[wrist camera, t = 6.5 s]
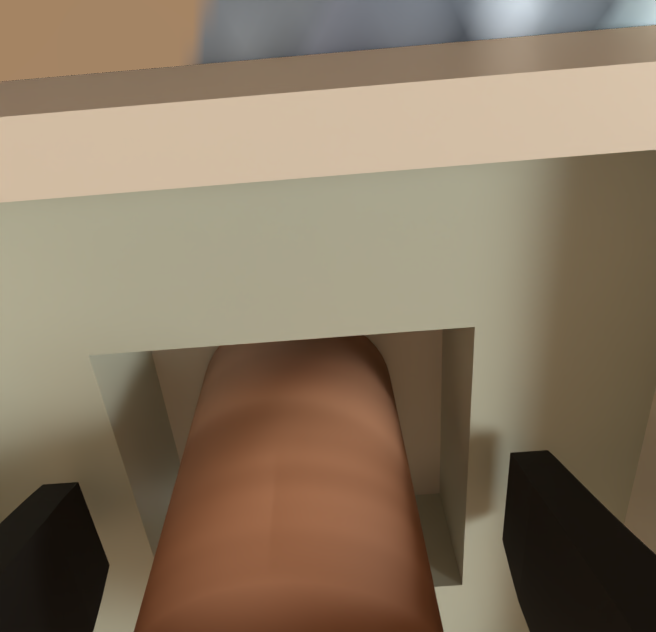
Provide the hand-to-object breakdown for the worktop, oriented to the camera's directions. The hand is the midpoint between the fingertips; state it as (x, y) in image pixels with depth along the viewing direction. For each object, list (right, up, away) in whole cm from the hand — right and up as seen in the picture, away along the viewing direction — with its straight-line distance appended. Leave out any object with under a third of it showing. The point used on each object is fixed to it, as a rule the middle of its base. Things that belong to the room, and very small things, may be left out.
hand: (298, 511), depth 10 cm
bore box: (0, +2, +3) cm, 4 cm away
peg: (0, +2, +3) cm, 3 cm away
